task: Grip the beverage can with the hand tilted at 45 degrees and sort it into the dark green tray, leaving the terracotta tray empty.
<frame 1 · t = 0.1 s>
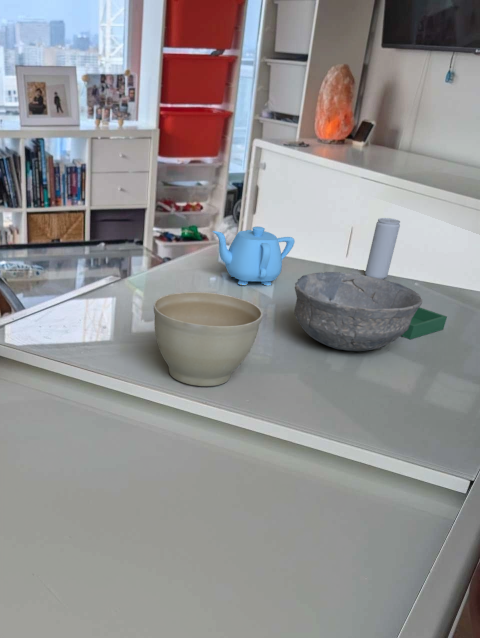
bowl: (345, 346, 132), on the table
green tray: (403, 325, 142), on the table
clay tray: (366, 301, 153), on the table
planter bowl: (199, 376, 119), on the table
teapot: (246, 281, 162), on the table
beverage can: (375, 277, 168), on the table
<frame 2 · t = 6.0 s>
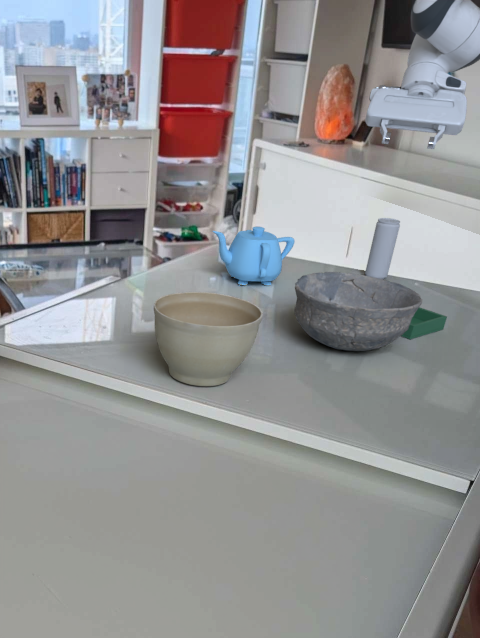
hand: (408, 144, 163), 25 cm above the table, tool tilted 45°, fingers open, 8 cm apart
nothing on the table moved.
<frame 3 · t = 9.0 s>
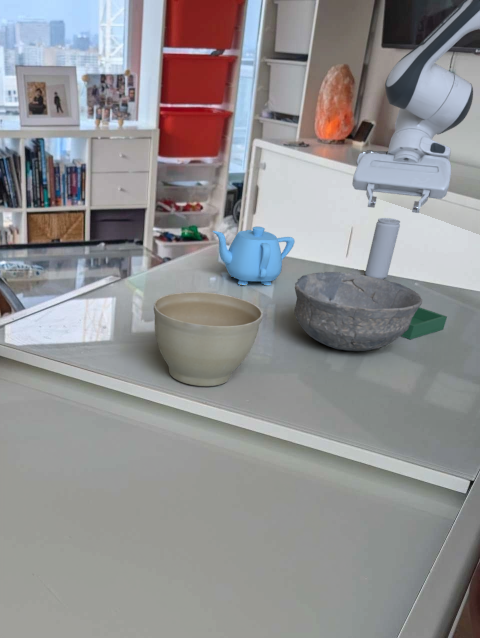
hand: (393, 208, 167), 13 cm above the table, tool tilted 45°, fingers open, 8 cm apart
nothing on the table moved.
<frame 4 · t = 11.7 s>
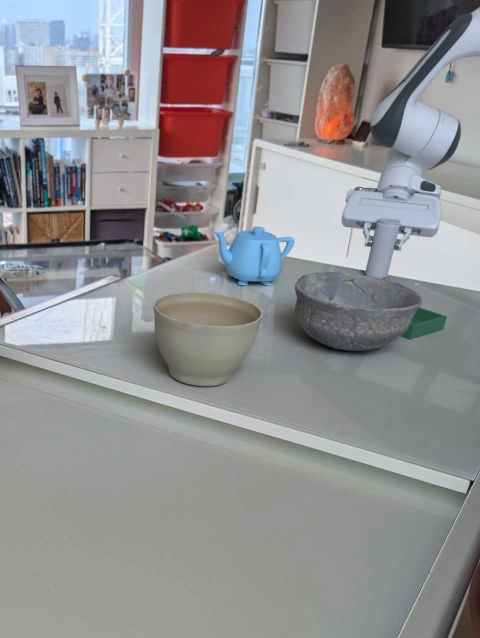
hand: (382, 247, 164), 7 cm above the table, tool tilted 45°, fingers closed on beverage can, 5 cm apart
beverage can: (375, 277, 168), on the table, touching gripper
everything else where it was.
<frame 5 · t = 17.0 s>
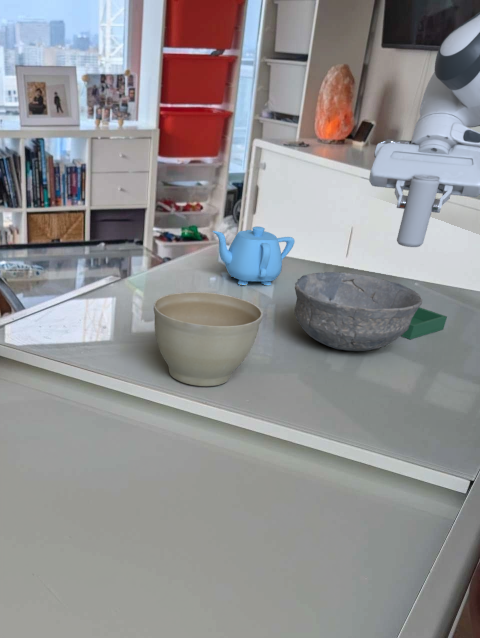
hand: (418, 208, 140), 19 cm above the table, tool tilted 45°, fingers closed on beverage can, 5 cm apart
beverage can: (408, 245, 144), point 12 cm above the table, touching gripper
everything else where it was.
when the fingers open (7 cm above the table, at t = 22.1 s): beverage can stays where it is, resting on green tray.
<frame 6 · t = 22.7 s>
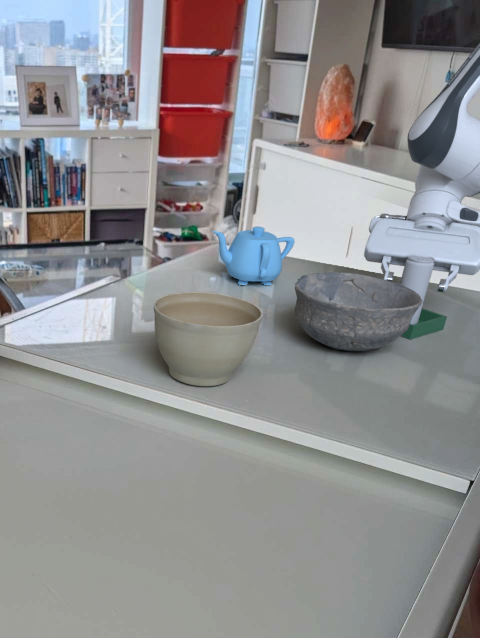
hand: (414, 286, 137), 8 cm above the table, tool tilted 45°, fingers open, 8 cm apart
beverage can: (403, 324, 142), resting on green tray
everything else where it was.
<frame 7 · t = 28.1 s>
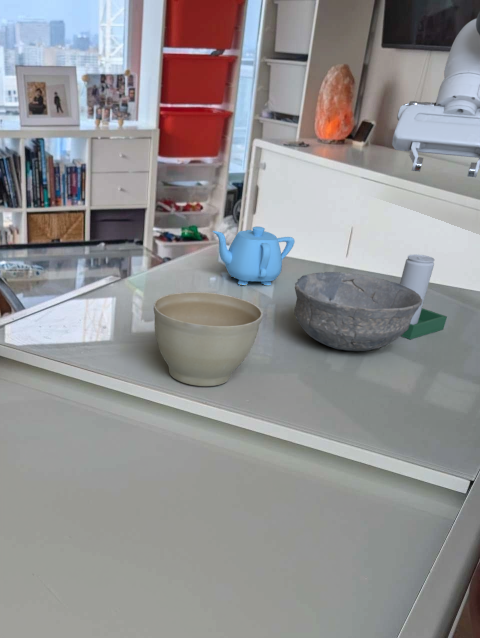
hand: (443, 172, 135), 25 cm above the table, tool tilted 45°, fingers open, 8 cm apart
nothing on the table moved.
at the end: beverage can inside the target area in the green tray (0.1 cm from its centre), point 0.3 cm above the green tray's base; beverage can tilted 0°; the gripper is holding nothing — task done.
